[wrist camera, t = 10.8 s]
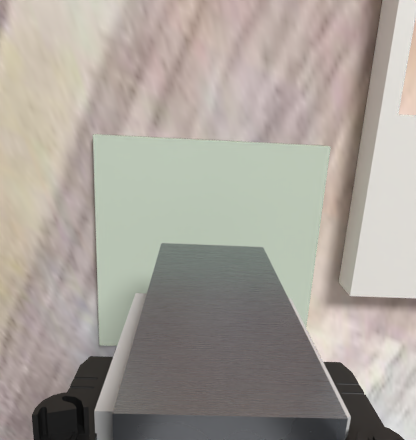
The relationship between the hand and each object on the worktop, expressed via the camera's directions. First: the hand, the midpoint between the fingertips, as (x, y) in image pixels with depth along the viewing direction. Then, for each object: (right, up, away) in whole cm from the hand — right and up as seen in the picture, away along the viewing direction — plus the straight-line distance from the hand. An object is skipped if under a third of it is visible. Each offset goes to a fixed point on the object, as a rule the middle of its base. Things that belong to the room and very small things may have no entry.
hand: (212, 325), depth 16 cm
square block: (0, +1, +3) cm, 3 cm away
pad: (0, +3, +9) cm, 9 cm away
